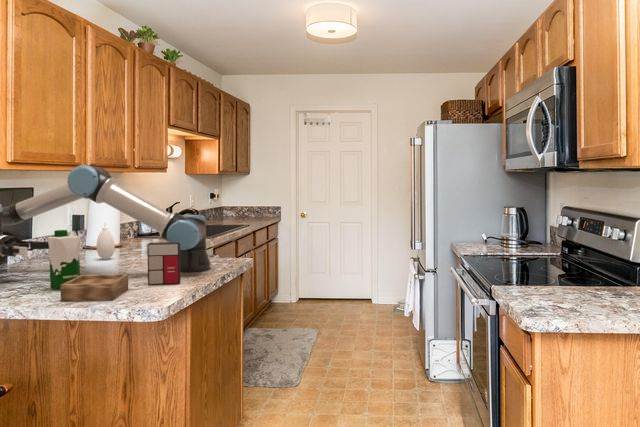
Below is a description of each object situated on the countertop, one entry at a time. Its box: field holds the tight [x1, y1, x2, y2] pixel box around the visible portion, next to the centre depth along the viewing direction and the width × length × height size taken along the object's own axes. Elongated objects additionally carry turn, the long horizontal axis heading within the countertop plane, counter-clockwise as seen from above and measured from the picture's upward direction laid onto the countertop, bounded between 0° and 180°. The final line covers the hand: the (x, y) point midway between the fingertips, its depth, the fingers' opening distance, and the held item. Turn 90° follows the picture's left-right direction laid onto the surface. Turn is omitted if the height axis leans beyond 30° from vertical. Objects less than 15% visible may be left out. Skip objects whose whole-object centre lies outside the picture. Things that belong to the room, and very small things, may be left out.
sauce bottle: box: [96, 223, 116, 261], centre depth 224 cm, size 8×8×18 cm
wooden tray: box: [60, 274, 129, 302], centre depth 151 cm, size 16×16×5 cm
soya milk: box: [47, 229, 82, 291], centre depth 162 cm, size 9×9×20 cm
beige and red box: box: [146, 241, 181, 286], centre depth 169 cm, size 11×4×15 cm, turn 101°
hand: (45, 249), depth 166 cm, fingers open, 13 cm apart
